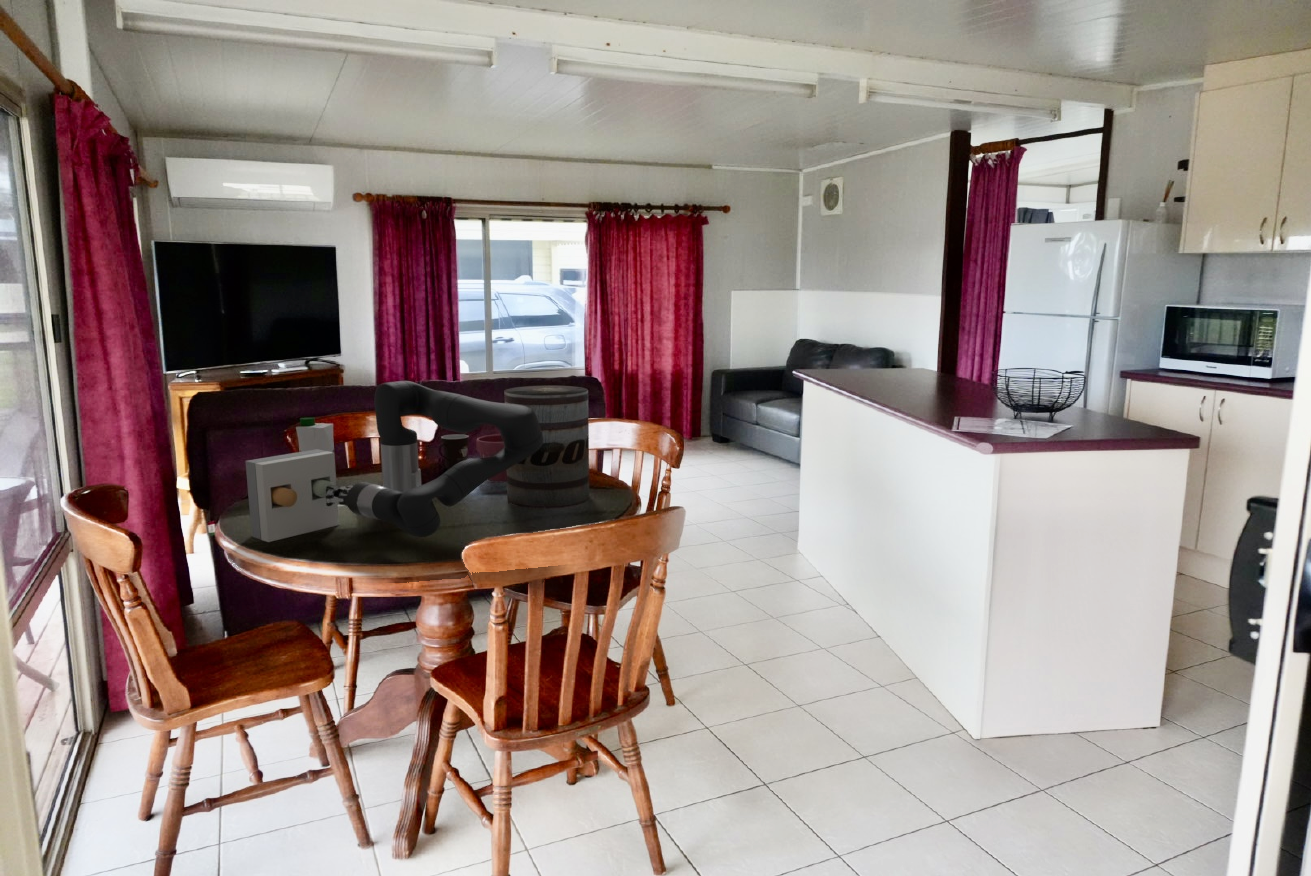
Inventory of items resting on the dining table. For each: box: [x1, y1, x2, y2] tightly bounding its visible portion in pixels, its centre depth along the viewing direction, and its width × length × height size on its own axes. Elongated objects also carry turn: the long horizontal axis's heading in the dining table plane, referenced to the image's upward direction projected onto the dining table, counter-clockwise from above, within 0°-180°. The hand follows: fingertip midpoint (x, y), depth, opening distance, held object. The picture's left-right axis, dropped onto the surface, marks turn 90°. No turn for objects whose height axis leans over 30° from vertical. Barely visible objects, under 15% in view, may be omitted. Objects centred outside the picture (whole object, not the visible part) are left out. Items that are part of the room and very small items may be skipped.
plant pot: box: [476, 434, 507, 483], centre depth 257 cm, size 14×14×13 cm
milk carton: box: [295, 416, 335, 454], centre depth 247 cm, size 9×9×20 cm
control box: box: [245, 449, 340, 543], centre depth 201 cm, size 7×18×18 cm, turn 143°
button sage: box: [311, 479, 337, 498], centre depth 203 cm, size 6×4×4 cm, turn 53°
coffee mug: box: [438, 433, 469, 470], centre depth 273 cm, size 12×9×10 cm
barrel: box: [503, 385, 590, 510], centre depth 232 cm, size 22×22×30 cm
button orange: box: [270, 486, 297, 507], centre depth 195 cm, size 6×4×4 cm, turn 53°
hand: (329, 489), depth 201 cm, fingers closed
